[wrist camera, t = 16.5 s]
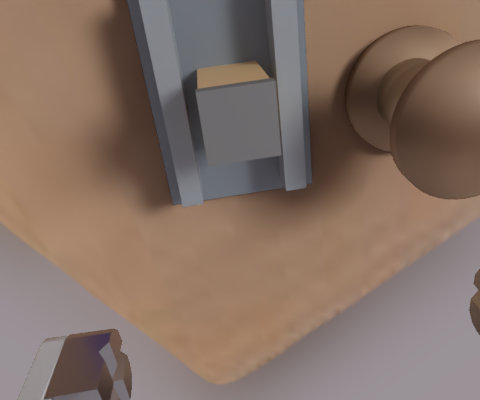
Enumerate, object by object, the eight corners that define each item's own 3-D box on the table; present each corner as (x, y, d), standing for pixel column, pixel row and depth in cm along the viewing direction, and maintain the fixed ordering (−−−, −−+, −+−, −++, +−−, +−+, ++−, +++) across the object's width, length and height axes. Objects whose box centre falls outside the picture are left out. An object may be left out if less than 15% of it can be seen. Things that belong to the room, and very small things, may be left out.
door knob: (344, 35, 29) (401, 55, 21) (471, 16, 29) (574, 29, 21) (345, 155, 33) (392, 209, 25) (455, 138, 33) (537, 187, 25)
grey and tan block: (195, 67, 28) (195, 92, 22) (257, 58, 28) (275, 80, 22) (205, 127, 30) (208, 166, 24) (263, 119, 30) (281, 155, 24)
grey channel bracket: (123, -27, 26) (113, -29, 23) (297, -51, 26) (311, -56, 23) (173, 199, 33) (171, 221, 30) (309, 178, 34) (320, 197, 31)
